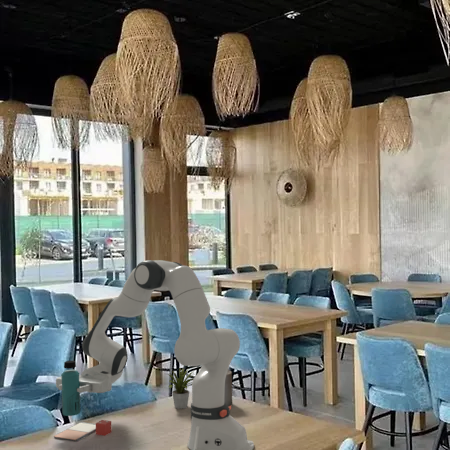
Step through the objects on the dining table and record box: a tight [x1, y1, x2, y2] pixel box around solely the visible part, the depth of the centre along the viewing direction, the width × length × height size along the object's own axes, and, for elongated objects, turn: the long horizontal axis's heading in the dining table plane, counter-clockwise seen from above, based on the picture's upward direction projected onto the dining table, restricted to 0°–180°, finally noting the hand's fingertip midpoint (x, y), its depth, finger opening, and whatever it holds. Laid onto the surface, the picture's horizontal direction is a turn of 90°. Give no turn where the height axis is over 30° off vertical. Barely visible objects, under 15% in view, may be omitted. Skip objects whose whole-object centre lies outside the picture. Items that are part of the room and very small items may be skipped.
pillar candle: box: [224, 369, 233, 407], centre depth 247 cm, size 10×10×15 cm
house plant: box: [164, 366, 196, 410], centre depth 243 cm, size 14×14×16 cm
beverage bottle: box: [60, 360, 82, 417], centre depth 210 cm, size 6×7×20 cm
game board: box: [53, 421, 96, 442], centre depth 214 cm, size 10×17×1 cm, turn 158°
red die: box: [95, 419, 112, 437], centre depth 213 cm, size 4×4×4 cm
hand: (69, 389), depth 209 cm, fingers closed on beverage bottle, 6 cm apart
